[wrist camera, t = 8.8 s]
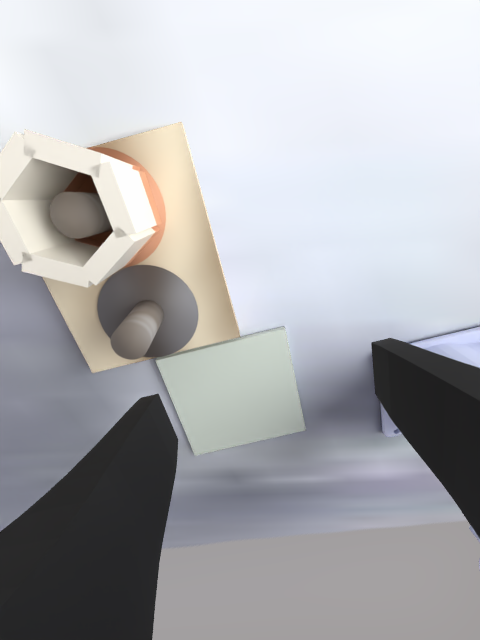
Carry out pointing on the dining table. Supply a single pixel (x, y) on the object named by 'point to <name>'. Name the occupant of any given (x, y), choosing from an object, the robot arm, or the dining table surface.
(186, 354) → the mat
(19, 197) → the sleeve
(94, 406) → the dining table surface
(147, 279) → the pin board
